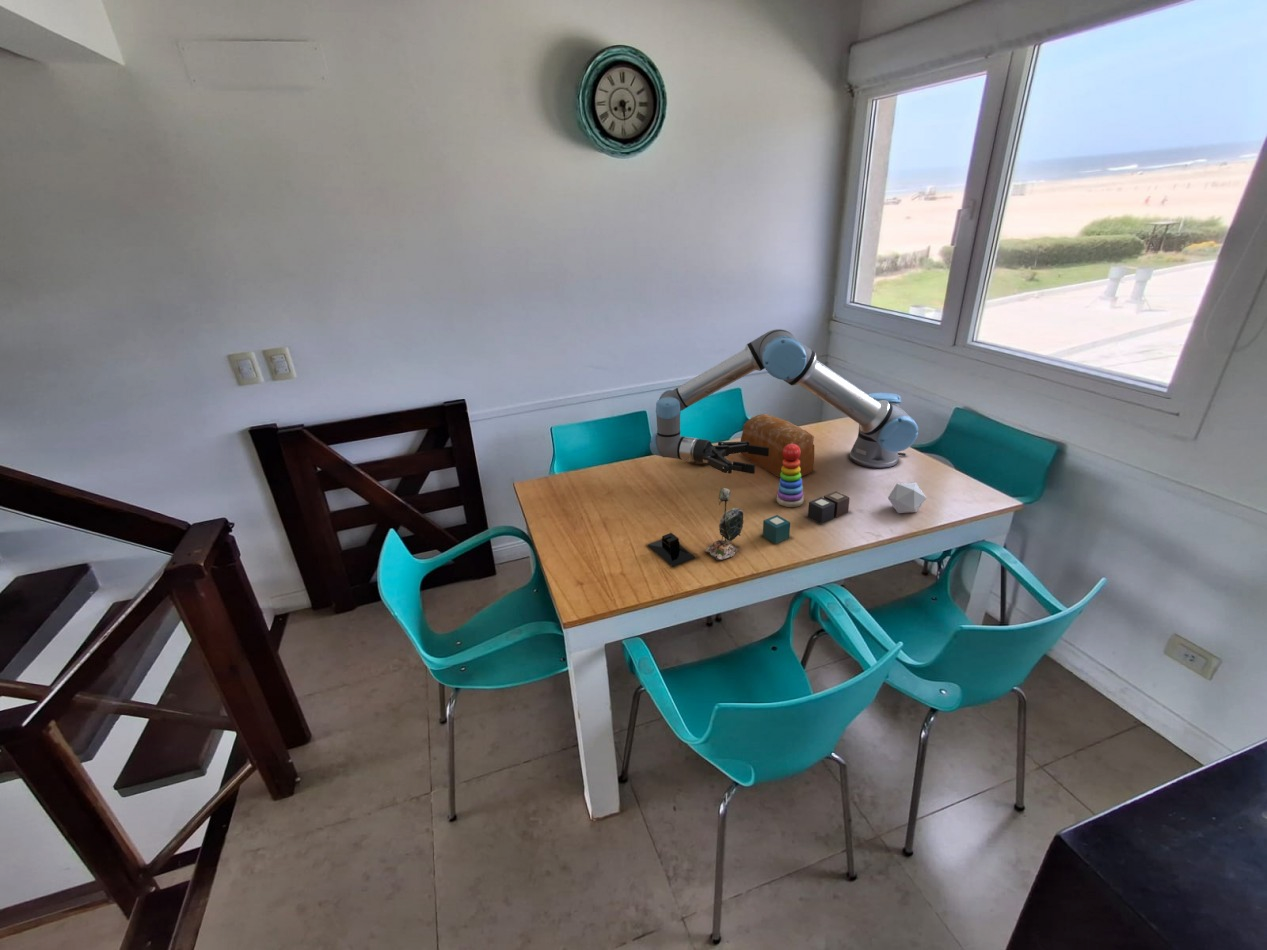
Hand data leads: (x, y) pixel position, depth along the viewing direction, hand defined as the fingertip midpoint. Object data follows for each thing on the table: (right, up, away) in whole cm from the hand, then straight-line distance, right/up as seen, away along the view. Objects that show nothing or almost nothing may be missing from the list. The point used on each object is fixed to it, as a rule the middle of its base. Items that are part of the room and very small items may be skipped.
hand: (761, 460), depth 167 cm
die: (+39, -15, -8) cm, 43 cm away
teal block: (0, -21, -16) cm, 27 cm away
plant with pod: (-14, -25, -20) cm, 35 cm away
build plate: (-29, -25, -19) cm, 42 cm away
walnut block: (+20, -15, -6) cm, 26 cm away
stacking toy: (+9, -13, +1) cm, 16 cm away
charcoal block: (+15, -17, -8) cm, 24 cm away
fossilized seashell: (-15, 0, +32) cm, 35 cm away
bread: (+11, -1, +26) cm, 28 cm away
